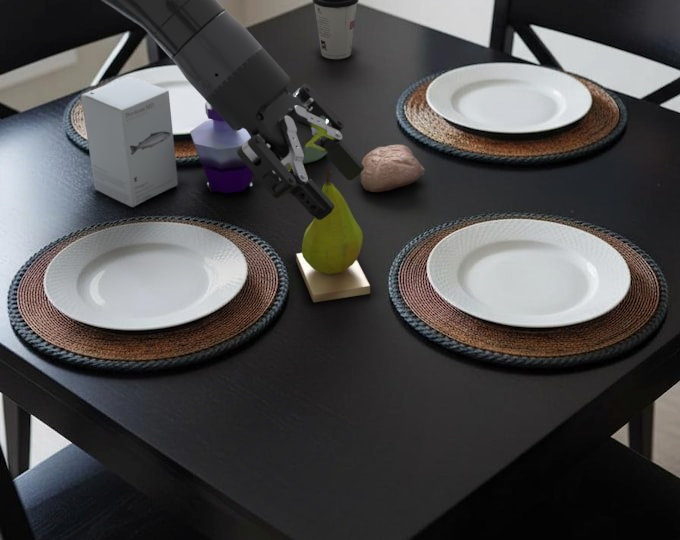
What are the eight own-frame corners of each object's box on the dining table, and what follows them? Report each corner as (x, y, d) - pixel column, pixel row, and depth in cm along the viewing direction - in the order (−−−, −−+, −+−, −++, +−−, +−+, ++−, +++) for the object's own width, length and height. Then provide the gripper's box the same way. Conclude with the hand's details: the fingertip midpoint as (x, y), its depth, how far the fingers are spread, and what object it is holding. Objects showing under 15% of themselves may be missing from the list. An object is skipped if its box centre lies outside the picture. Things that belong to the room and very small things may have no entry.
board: (313, 302, 106) (313, 294, 106) (296, 261, 113) (295, 253, 112) (370, 293, 107) (370, 285, 107) (349, 253, 114) (349, 245, 113)
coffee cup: (315, 63, 159) (313, -2, 153) (312, 46, 164) (310, -17, 159) (361, 61, 159) (361, -4, 154) (356, 44, 165) (356, -19, 159)
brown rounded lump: (413, 161, 132) (353, 151, 129) (431, 132, 127) (369, 122, 124) (418, 211, 128) (356, 202, 126) (437, 184, 123) (372, 174, 121)
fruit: (341, 246, 113) (340, 146, 107) (373, 272, 109) (374, 170, 102) (290, 263, 110) (286, 162, 104) (321, 291, 106) (319, 188, 99)
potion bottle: (238, 160, 132) (232, 71, 126) (279, 186, 127) (275, 94, 120) (180, 182, 128) (170, 90, 121) (220, 209, 122) (212, 115, 115)
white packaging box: (133, 209, 122) (119, 110, 115) (93, 189, 126) (78, 92, 119) (180, 186, 127) (170, 89, 120) (140, 167, 131) (128, 73, 124)
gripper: (222, 76, 93) (343, 209, 96) (284, 22, 104) (391, 143, 107) (174, 121, 98) (292, 247, 101) (239, 66, 109) (342, 180, 112)
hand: (343, 193), depth 104 cm, fingers open, 8 cm apart
